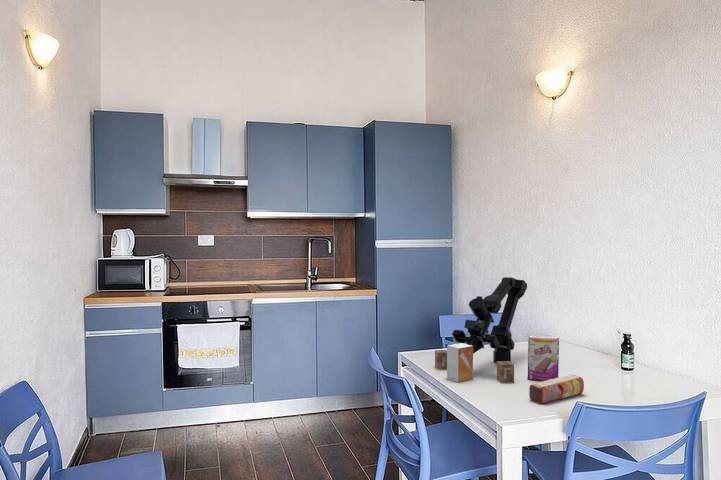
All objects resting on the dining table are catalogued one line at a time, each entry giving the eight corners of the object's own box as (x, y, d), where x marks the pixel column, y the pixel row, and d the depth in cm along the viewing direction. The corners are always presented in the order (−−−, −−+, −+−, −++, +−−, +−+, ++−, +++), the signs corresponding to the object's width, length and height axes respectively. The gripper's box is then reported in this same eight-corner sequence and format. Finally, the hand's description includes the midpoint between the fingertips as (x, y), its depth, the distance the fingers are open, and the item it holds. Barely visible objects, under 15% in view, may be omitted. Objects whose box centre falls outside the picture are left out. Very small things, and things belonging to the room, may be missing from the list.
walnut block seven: (509, 379, 204) (509, 361, 203) (514, 383, 198) (514, 364, 198) (496, 379, 203) (496, 361, 203) (501, 383, 198) (501, 364, 198)
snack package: (542, 406, 173) (542, 385, 173) (527, 400, 179) (527, 380, 179) (585, 395, 184) (585, 376, 184) (568, 390, 190) (569, 372, 189)
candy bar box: (527, 380, 202) (527, 337, 202) (527, 376, 207) (528, 334, 207) (558, 383, 199) (559, 339, 198) (558, 379, 203) (558, 336, 203)
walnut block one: (446, 366, 222) (446, 349, 222) (449, 369, 217) (449, 352, 217) (434, 366, 222) (435, 350, 222) (437, 370, 217) (437, 353, 217)
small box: (458, 382, 199) (458, 348, 198) (446, 378, 204) (446, 345, 204) (473, 379, 203) (473, 345, 203) (461, 375, 208) (461, 342, 208)
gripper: (454, 309, 218) (439, 340, 209) (496, 314, 205) (481, 347, 197) (464, 326, 223) (450, 357, 215) (505, 332, 211) (491, 364, 203)
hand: (467, 356), depth 208 cm, fingers closed
